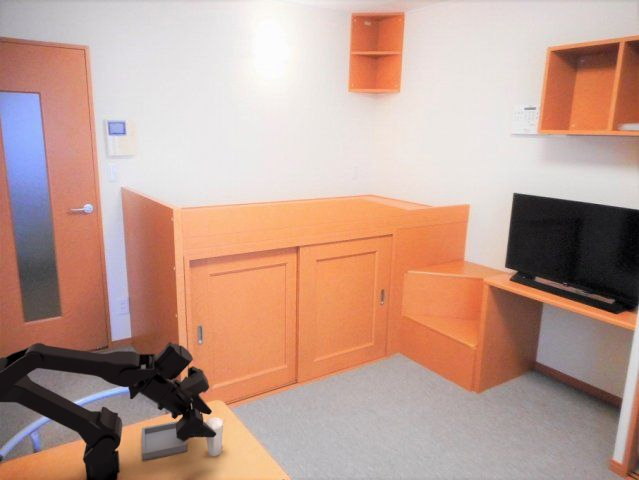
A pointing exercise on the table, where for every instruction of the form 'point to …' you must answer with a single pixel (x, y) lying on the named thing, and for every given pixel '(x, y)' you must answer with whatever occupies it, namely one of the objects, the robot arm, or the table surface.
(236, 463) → the table surface
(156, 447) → the tray
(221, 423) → the milkshake
